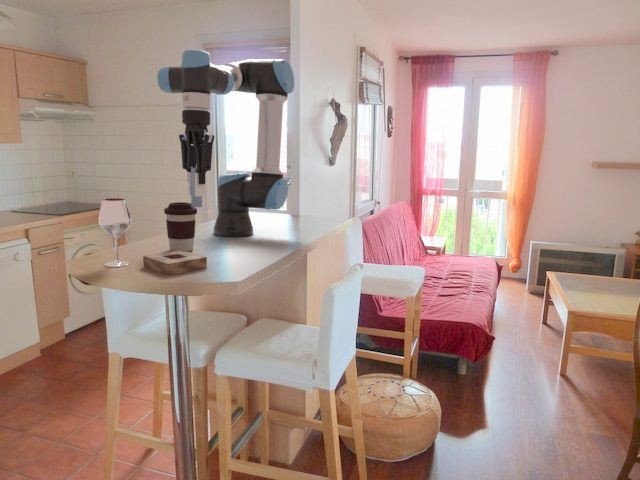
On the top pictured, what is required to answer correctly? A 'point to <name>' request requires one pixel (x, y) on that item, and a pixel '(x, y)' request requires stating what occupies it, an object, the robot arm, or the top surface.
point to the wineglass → (114, 223)
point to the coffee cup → (180, 226)
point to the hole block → (175, 262)
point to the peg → (195, 200)
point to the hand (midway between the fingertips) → (196, 195)
